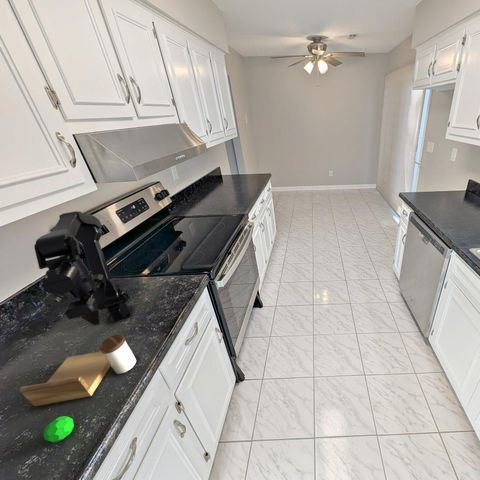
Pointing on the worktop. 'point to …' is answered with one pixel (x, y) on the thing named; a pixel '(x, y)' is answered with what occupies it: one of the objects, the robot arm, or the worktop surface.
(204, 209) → the worktop surface
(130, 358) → the cylinder
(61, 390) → the wooden ramp
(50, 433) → the polyhedron
